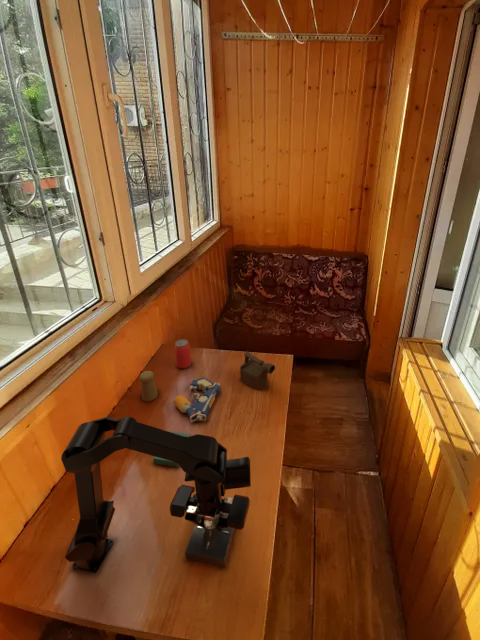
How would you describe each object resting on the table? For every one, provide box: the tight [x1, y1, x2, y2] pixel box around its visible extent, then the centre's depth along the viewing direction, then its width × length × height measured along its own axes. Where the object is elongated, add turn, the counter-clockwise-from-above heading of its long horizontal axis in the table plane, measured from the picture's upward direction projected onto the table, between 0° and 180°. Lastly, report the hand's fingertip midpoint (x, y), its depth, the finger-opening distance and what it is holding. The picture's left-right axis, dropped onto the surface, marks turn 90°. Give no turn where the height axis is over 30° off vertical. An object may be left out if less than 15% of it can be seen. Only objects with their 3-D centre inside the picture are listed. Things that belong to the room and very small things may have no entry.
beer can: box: [174, 338, 192, 369], centre depth 141 cm, size 7×7×12 cm
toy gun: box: [173, 376, 221, 423], centre depth 122 cm, size 21×4×15 cm
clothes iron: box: [239, 351, 276, 390], centre depth 131 cm, size 8×16×13 cm, turn 48°
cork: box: [139, 370, 159, 402], centre depth 124 cm, size 6×6×11 cm
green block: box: [153, 430, 192, 468], centre depth 102 cm, size 10×8×4 cm
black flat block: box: [184, 523, 236, 568], centre depth 80 cm, size 11×10×3 cm
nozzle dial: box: [204, 515, 220, 539], centre depth 79 cm, size 4×4×4 cm
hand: (212, 527), depth 79 cm, fingers closed on nozzle dial, 4 cm apart
